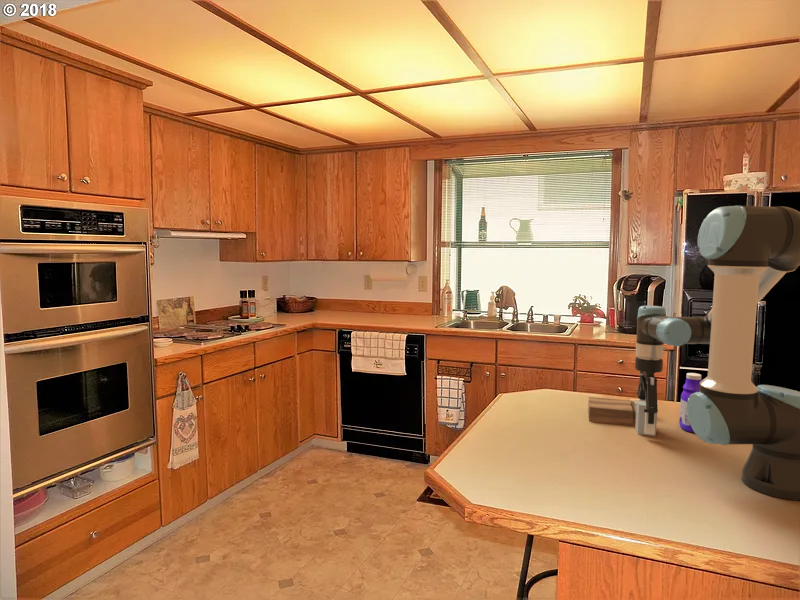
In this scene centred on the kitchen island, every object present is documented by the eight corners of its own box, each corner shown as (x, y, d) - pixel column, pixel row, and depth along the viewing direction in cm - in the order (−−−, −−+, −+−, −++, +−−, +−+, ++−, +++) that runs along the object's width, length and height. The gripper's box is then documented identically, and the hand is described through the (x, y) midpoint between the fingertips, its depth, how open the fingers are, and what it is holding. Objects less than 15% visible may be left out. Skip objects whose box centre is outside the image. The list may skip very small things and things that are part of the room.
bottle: (706, 433, 167) (709, 376, 165) (687, 433, 167) (690, 376, 166) (693, 426, 174) (697, 371, 173) (675, 425, 174) (678, 371, 173)
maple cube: (650, 418, 182) (651, 403, 182) (635, 418, 182) (636, 403, 182) (643, 413, 187) (644, 399, 187) (629, 413, 187) (629, 399, 187)
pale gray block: (655, 436, 165) (657, 406, 164) (637, 434, 166) (639, 405, 165) (652, 430, 169) (654, 402, 169) (635, 429, 171) (636, 400, 170)
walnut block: (632, 426, 174) (633, 411, 174) (588, 422, 178) (589, 407, 178) (628, 414, 187) (629, 400, 186) (588, 411, 191) (588, 396, 190)
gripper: (671, 366, 153) (667, 441, 154) (655, 350, 177) (651, 415, 178) (642, 365, 154) (638, 439, 156) (629, 349, 178) (626, 413, 180)
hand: (645, 426), depth 167 cm, fingers open, 13 cm apart
